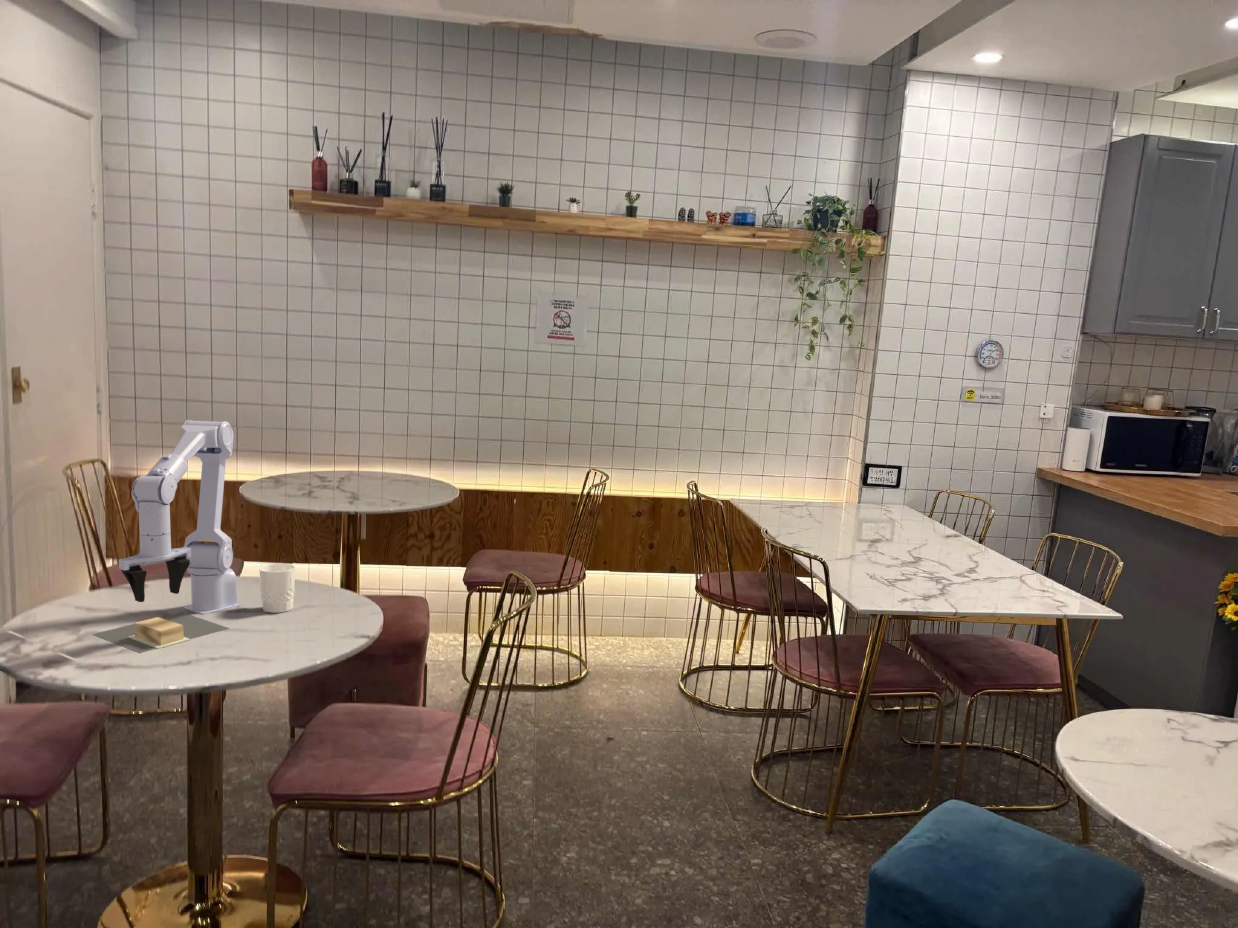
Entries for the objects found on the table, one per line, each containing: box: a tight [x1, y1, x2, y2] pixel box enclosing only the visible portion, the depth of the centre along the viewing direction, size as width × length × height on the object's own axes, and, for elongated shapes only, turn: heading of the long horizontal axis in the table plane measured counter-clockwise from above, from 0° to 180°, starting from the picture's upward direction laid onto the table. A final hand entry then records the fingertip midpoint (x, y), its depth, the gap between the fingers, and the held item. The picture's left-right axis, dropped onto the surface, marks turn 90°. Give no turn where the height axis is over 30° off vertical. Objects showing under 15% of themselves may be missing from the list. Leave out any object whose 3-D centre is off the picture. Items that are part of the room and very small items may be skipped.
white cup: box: [258, 563, 296, 614], centre depth 214 cm, size 8×8×10 cm
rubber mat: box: [92, 612, 230, 654], centre depth 195 cm, size 20×18×1 cm
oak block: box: [134, 616, 184, 645], centre depth 190 cm, size 9×5×3 cm, turn 59°
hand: (157, 596), depth 189 cm, fingers open, 7 cm apart
